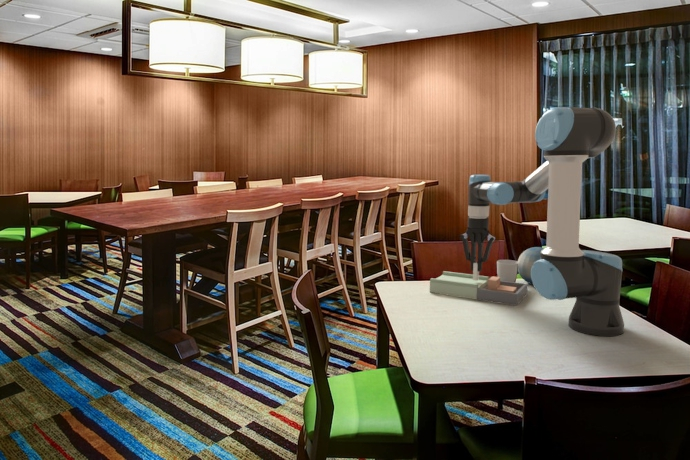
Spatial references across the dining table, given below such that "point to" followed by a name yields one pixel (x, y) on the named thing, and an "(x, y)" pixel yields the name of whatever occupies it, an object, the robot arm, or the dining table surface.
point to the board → (458, 284)
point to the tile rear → (493, 283)
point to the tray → (503, 294)
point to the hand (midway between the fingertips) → (475, 279)
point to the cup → (507, 270)
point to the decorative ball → (528, 262)
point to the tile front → (507, 289)
